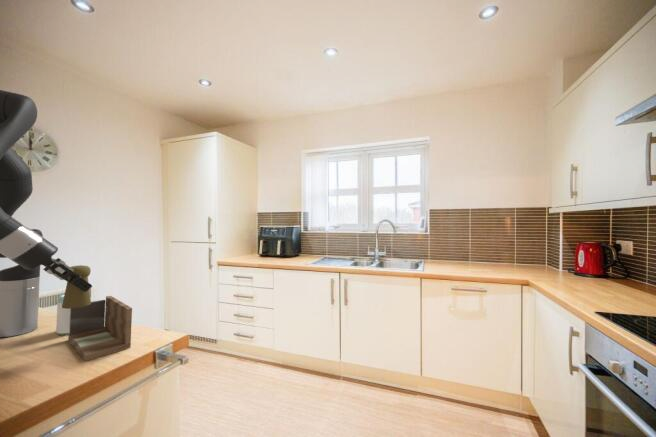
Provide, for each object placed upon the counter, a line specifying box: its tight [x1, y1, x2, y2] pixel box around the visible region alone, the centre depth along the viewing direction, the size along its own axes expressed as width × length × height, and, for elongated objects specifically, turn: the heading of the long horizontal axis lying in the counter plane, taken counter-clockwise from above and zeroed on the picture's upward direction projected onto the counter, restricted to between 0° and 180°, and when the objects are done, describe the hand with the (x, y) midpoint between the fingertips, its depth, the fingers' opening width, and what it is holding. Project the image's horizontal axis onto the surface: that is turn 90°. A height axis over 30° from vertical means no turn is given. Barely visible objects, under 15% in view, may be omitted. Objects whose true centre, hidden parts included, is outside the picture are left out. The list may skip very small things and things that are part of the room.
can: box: [55, 294, 70, 335], centre depth 89 cm, size 7×7×12 cm
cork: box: [62, 264, 92, 309], centre depth 76 cm, size 6×6×11 cm
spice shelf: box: [67, 295, 133, 362], centre depth 81 cm, size 20×10×12 cm, turn 53°
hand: (86, 287), depth 77 cm, fingers closed on cork, 4 cm apart
